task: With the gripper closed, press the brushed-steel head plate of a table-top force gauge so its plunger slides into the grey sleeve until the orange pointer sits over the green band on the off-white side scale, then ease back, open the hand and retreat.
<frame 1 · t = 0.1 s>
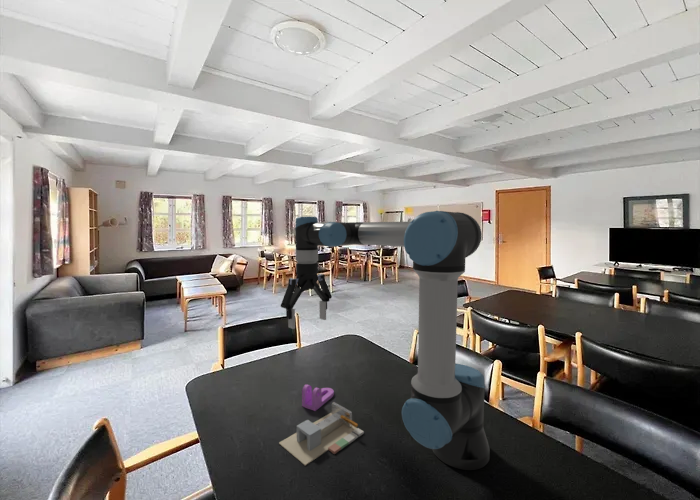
hand: (308, 323, 110), 28 cm above the table, fingers open, 13 cm apart
bracket: (320, 400, 113), on the table
plunger: (331, 426, 94), point 3 cm above the table, slide at 0.0 cm
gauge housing: (346, 419, 101), on the table
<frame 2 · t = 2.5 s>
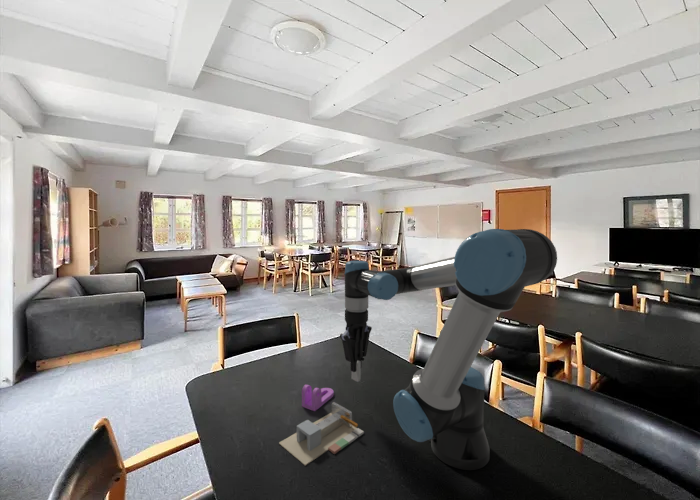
hand: (356, 379, 104), 11 cm above the table, fingers closed
nothing on the table moved.
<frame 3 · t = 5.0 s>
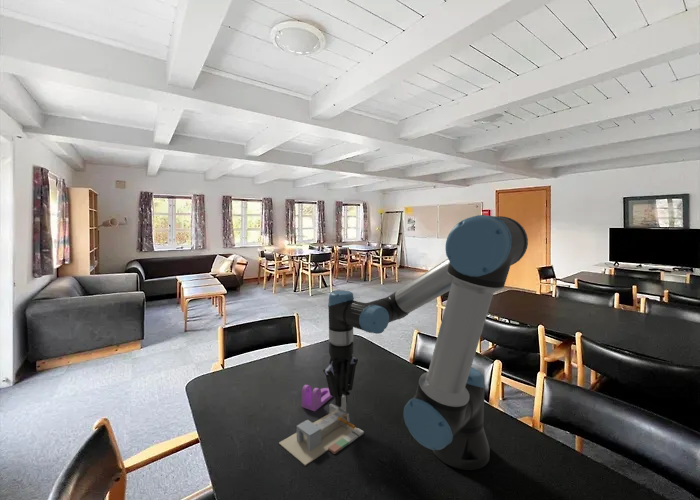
hand: (341, 414, 100), 2 cm above the table, fingers closed
plunger: (328, 428, 93), point 3 cm above the table, slide at 1.1 cm, touching gripper
everything else where it was.
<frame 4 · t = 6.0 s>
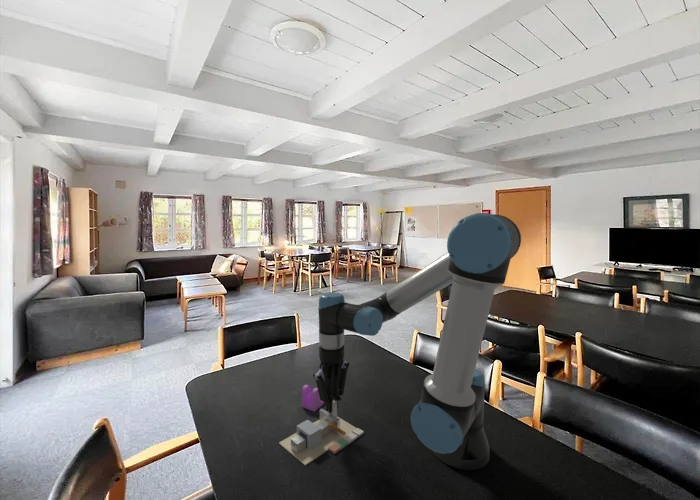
hand: (332, 420, 97), 2 cm above the table, fingers closed
plunger: (317, 434, 90), point 3 cm above the table, slide at 5.1 cm, touching gripper
everything else where it was.
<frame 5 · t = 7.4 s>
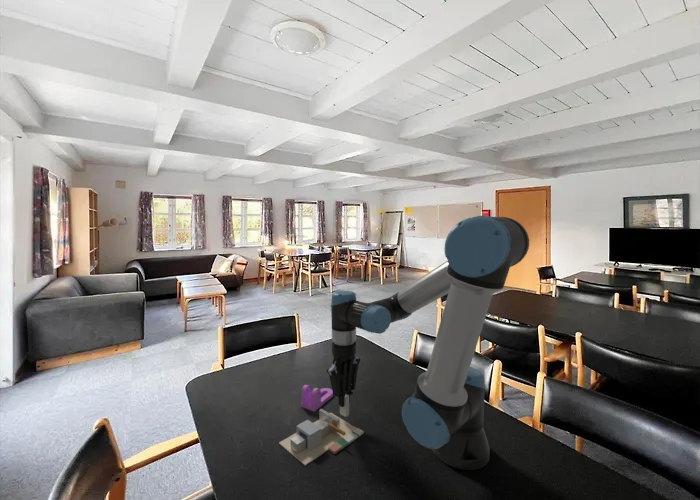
hand: (344, 414, 100), 2 cm above the table, fingers closed
plunger: (317, 434, 90), point 3 cm above the table, slide at 5.2 cm
everything else where it was.
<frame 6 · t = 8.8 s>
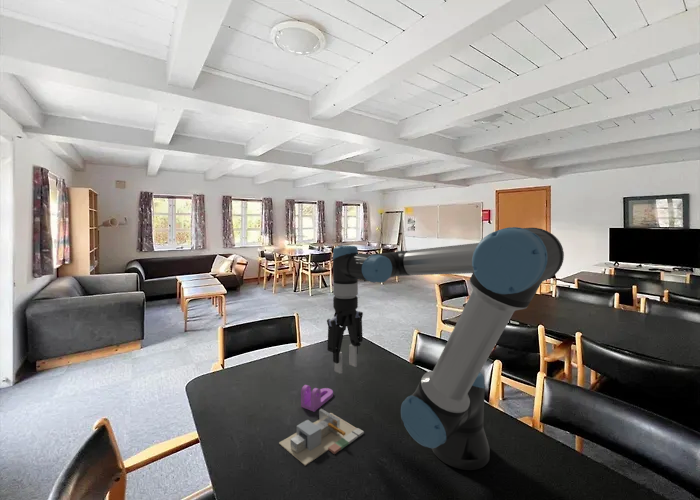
hand: (345, 368, 100), 17 cm above the table, fingers open, 6 cm apart
nothing on the table moved.
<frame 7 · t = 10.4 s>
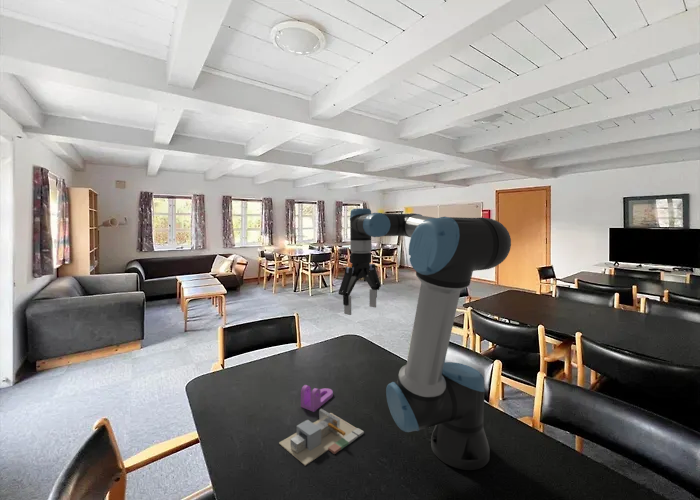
hand: (360, 310, 116), 31 cm above the table, fingers open, 13 cm apart
nothing on the table moved.
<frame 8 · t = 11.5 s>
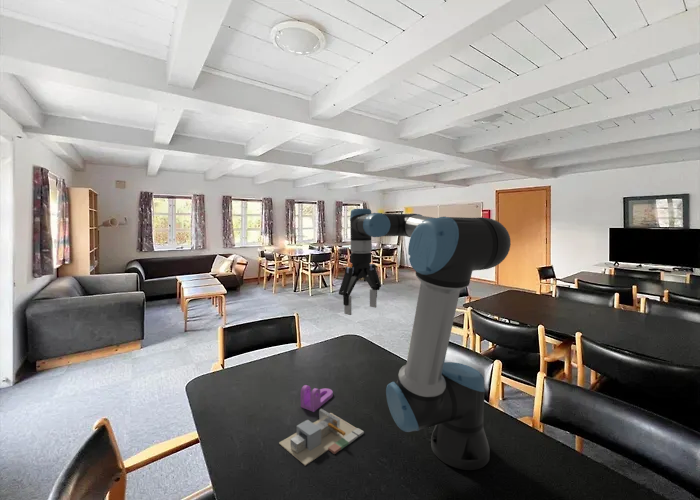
hand: (361, 310, 116), 31 cm above the table, fingers open, 13 cm apart
nothing on the table moved.
at the end: plunger slide at 5.2 cm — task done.
